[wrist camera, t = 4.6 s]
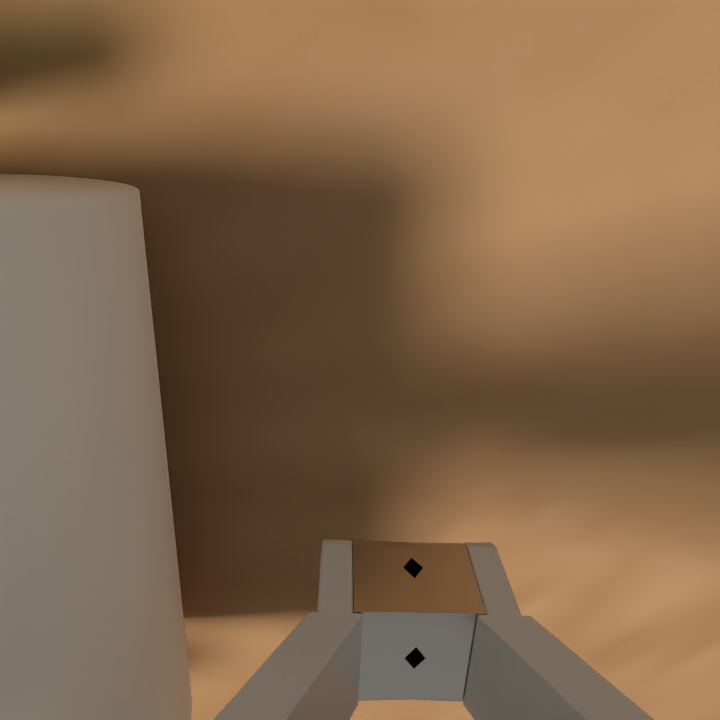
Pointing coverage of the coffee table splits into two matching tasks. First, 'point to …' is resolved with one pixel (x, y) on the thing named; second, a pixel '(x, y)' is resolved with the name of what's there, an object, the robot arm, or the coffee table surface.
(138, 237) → the roll
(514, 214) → the coffee table surface
